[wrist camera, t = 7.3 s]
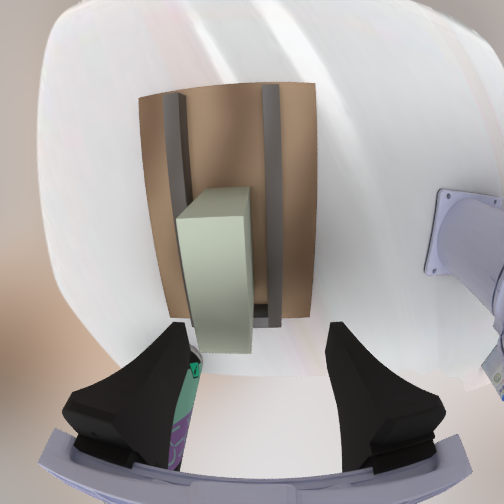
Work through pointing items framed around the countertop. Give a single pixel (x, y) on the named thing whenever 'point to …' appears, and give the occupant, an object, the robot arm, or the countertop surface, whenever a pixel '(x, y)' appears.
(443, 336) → the countertop surface
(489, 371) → the medicine box
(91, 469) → the robot arm
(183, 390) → the spray can
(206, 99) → the door track
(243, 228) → the pale green block
